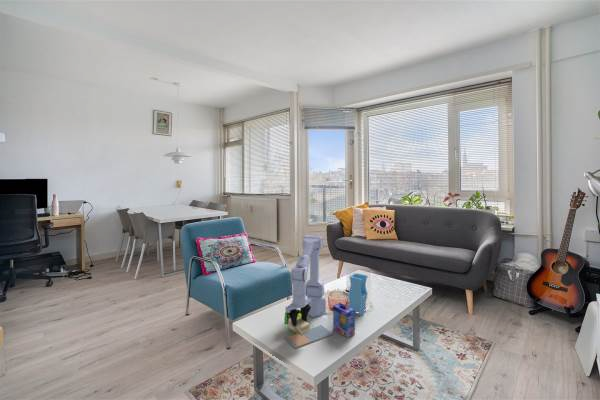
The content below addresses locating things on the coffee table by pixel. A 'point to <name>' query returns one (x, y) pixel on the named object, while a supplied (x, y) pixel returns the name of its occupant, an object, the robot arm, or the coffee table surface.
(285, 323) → the fruit basket
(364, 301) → the vase
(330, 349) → the coffee table surface
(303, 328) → the tan rectangular block
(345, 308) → the ink cartridge box
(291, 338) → the mat
